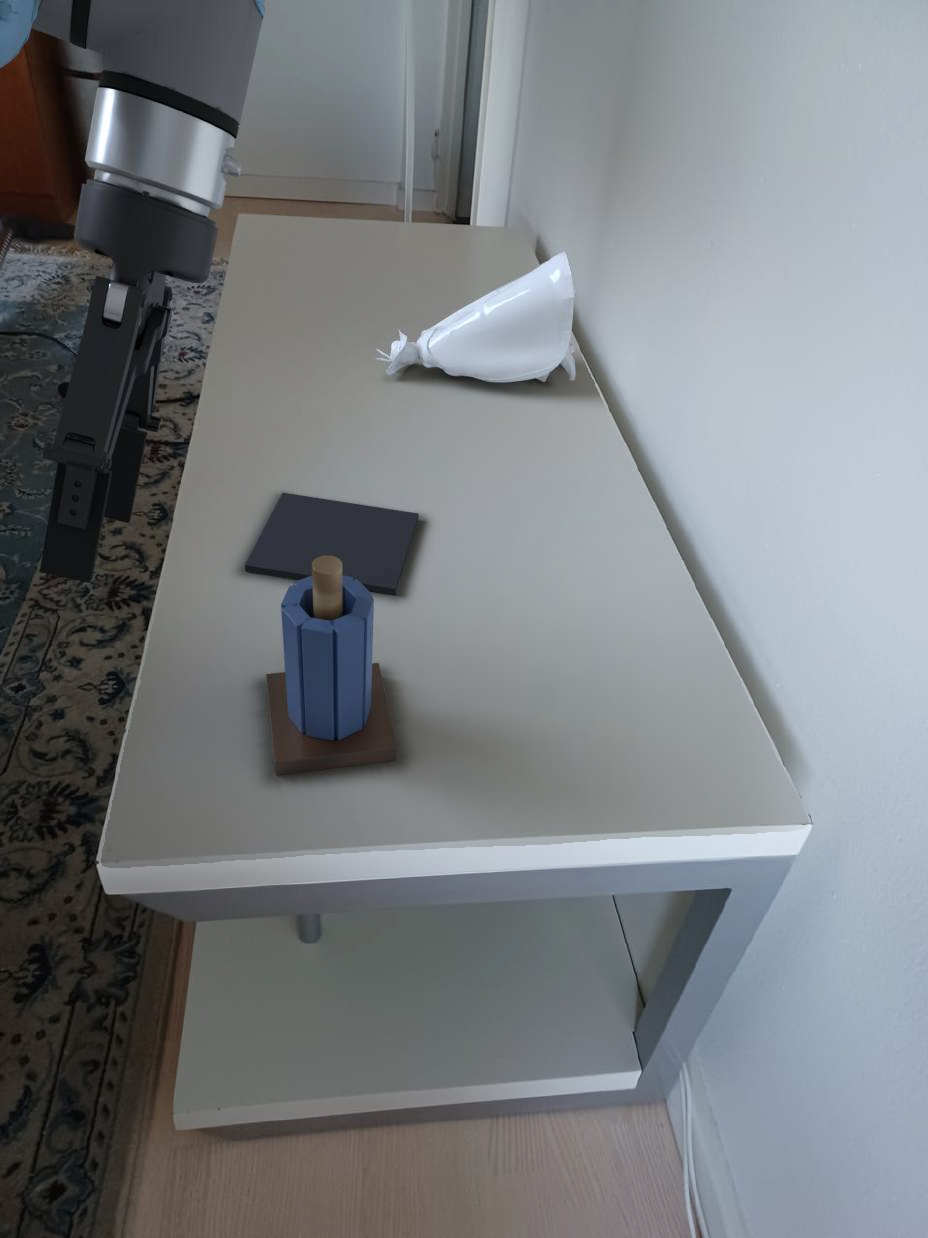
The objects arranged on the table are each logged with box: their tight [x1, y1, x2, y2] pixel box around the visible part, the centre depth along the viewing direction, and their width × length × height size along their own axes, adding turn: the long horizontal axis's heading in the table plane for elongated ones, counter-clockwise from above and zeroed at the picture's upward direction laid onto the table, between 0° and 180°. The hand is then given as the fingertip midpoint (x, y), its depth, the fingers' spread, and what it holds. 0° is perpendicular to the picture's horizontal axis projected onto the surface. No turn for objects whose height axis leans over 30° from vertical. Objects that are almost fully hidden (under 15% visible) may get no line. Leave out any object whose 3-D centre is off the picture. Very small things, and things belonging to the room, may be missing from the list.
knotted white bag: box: [375, 251, 577, 383], centre depth 111 cm, size 14×16×25 cm
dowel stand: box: [265, 555, 399, 776], centre depth 65 cm, size 9×9×16 cm
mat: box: [244, 492, 420, 596], centre depth 86 cm, size 14×12×1 cm
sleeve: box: [280, 575, 375, 741], centre depth 65 cm, size 6×6×11 cm
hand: (90, 543), depth 58 cm, fingers open, 13 cm apart
